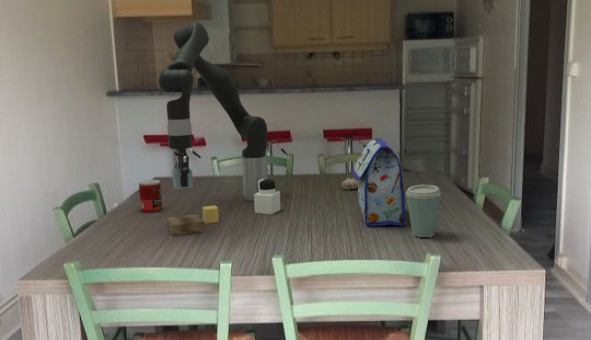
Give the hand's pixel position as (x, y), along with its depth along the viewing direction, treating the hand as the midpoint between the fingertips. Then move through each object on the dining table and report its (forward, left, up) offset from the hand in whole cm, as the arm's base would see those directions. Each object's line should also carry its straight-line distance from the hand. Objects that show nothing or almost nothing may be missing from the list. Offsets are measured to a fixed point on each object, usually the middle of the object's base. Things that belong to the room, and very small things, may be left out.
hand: (182, 184), depth 183 cm
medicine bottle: (-32, -11, -15) cm, 37 cm away
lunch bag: (-64, +15, -15) cm, 68 cm away
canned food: (+7, -33, -15) cm, 37 cm away
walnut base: (0, 0, -15) cm, 15 cm away
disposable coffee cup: (-66, +38, -15) cm, 78 cm away
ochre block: (-10, -7, -15) cm, 20 cm away
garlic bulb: (-76, -32, -15) cm, 84 cm away
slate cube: (0, 0, -1) cm, 1 cm away
